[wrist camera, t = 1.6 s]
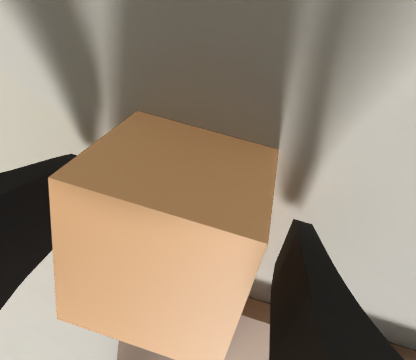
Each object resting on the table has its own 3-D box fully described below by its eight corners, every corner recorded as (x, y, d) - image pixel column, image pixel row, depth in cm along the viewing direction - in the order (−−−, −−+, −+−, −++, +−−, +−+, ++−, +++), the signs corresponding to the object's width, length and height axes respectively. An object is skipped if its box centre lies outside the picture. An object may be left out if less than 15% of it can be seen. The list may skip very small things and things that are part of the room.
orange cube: (278, 148, 11) (267, 244, 7) (242, 256, 14) (218, 374, 10) (138, 110, 12) (47, 177, 8) (128, 221, 14) (56, 319, 10)
